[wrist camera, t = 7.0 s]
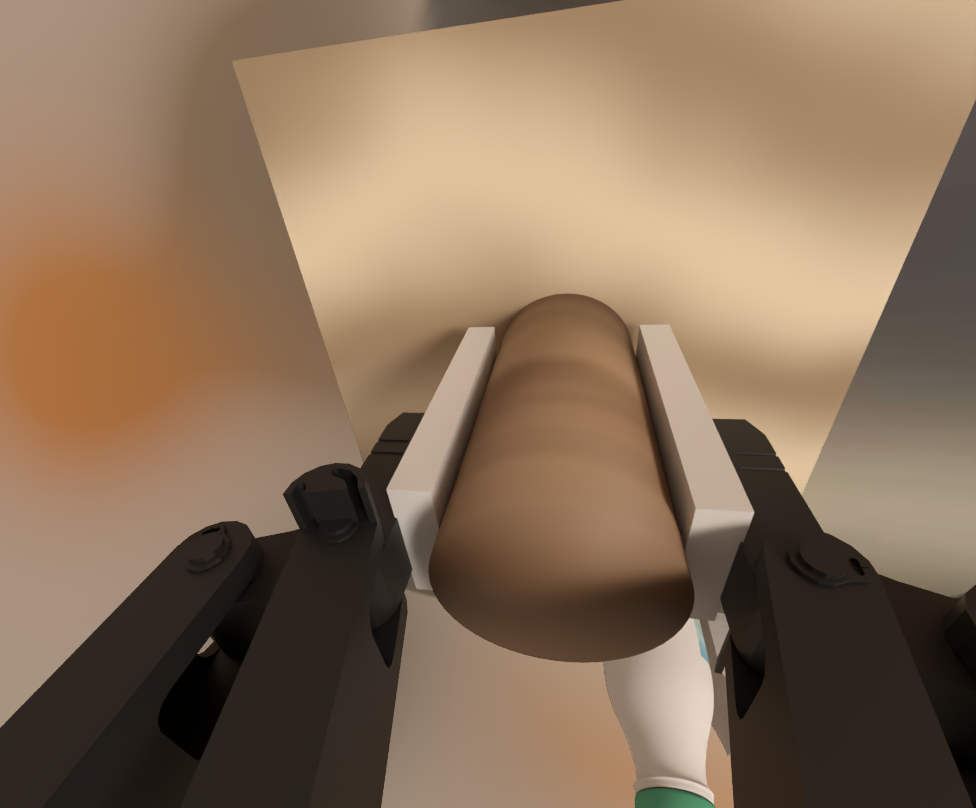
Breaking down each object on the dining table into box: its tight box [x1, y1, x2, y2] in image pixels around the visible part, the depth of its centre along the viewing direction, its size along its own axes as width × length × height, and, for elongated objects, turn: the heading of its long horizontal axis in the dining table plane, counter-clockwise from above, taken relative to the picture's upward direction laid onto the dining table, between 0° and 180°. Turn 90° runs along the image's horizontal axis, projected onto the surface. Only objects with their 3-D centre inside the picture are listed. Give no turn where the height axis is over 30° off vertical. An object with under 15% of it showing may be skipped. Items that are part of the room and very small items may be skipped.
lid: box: [232, 0, 976, 662], centre depth 10 cm, size 16×16×9 cm
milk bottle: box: [603, 618, 715, 808], centre depth 33 cm, size 8×8×20 cm
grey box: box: [700, 613, 731, 756], centre depth 41 cm, size 4×7×10 cm, turn 178°
